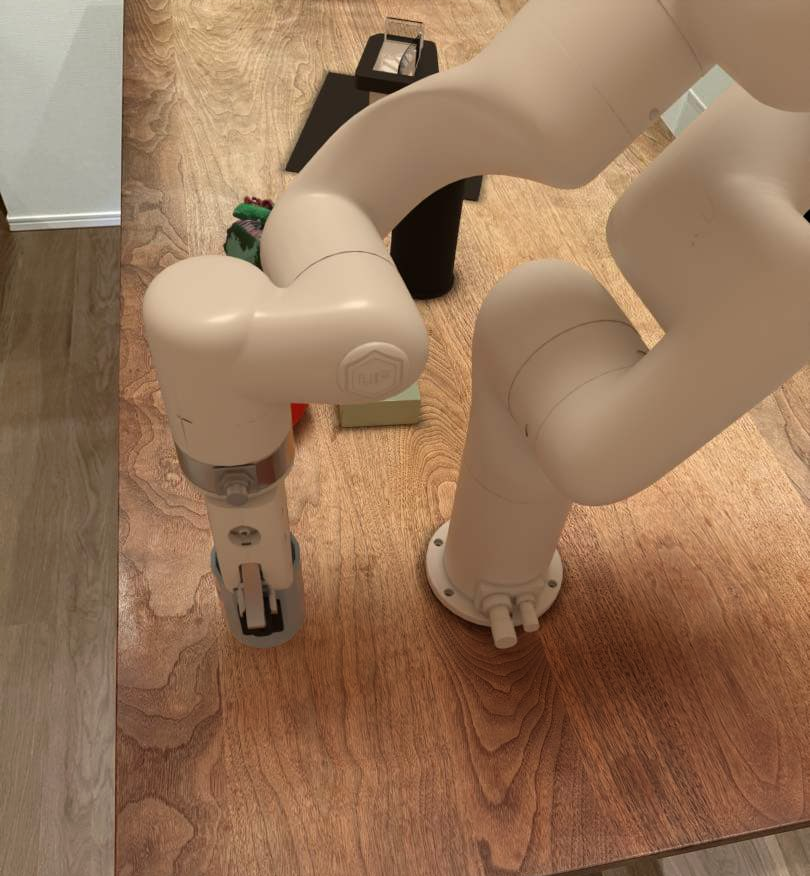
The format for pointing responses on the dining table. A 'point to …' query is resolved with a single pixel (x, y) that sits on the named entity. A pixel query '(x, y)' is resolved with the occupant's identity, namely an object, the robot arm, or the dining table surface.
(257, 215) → the figurine
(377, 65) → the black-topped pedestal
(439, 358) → the dining table surface
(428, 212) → the aerosol can
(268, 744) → the dining table surface
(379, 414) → the push button box
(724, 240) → the robot arm
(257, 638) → the cup
